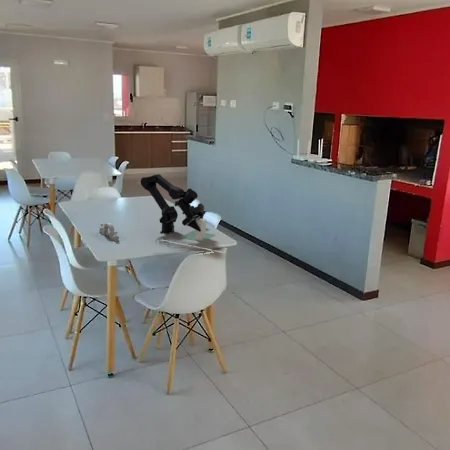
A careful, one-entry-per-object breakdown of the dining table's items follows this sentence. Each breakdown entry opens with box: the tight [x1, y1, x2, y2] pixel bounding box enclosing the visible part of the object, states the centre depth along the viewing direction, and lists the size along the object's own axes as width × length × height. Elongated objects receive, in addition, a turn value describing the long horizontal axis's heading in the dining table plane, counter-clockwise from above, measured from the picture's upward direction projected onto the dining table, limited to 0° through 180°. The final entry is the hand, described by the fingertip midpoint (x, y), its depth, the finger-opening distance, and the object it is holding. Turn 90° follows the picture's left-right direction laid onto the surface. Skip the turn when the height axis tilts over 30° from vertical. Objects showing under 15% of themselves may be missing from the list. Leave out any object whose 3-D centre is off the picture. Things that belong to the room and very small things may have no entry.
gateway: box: [99, 222, 120, 242], centre depth 260 cm, size 20×2×8 cm, turn 39°
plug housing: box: [194, 218, 207, 242], centre depth 263 cm, size 4×6×11 cm, turn 157°
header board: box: [179, 230, 216, 243], centre depth 269 cm, size 15×17×3 cm
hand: (202, 229), depth 262 cm, fingers closed on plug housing, 6 cm apart
